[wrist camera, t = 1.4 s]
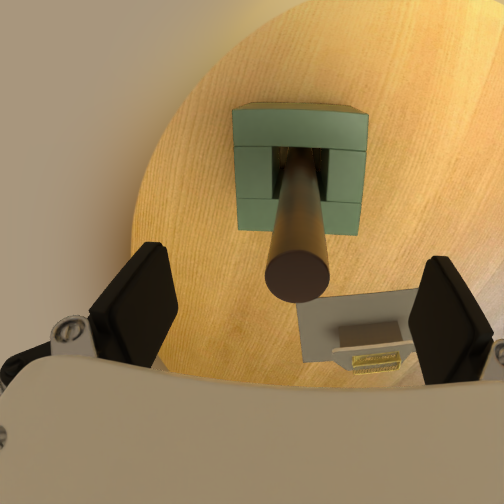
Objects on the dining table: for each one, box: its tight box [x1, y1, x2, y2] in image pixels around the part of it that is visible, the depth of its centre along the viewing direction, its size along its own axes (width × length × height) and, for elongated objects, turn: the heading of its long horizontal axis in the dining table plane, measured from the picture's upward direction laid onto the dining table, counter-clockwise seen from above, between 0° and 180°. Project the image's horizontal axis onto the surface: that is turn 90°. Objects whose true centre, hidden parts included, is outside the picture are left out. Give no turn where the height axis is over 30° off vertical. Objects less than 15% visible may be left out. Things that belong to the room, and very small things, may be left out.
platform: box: [296, 288, 418, 375], centre depth 34 cm, size 12×18×7 cm, turn 101°
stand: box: [232, 102, 369, 236], centre depth 24 cm, size 9×9×8 cm
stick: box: [265, 147, 330, 303], centre depth 19 cm, size 2×2×20 cm
